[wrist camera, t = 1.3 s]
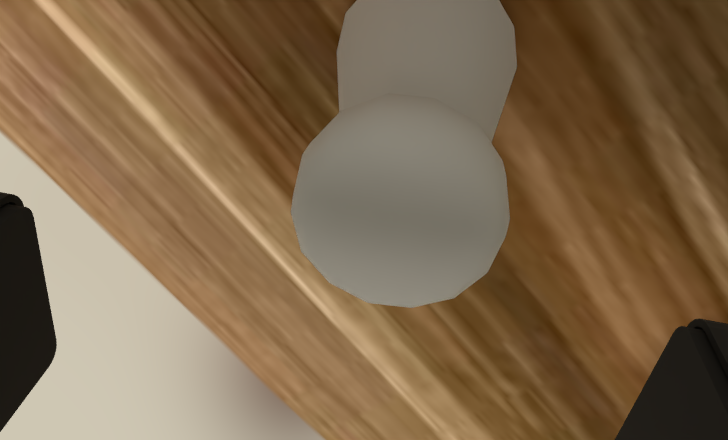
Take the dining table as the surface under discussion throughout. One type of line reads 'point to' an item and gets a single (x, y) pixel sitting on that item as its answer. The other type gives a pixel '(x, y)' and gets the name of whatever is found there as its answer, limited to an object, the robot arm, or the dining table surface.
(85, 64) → the dining table surface
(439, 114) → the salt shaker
